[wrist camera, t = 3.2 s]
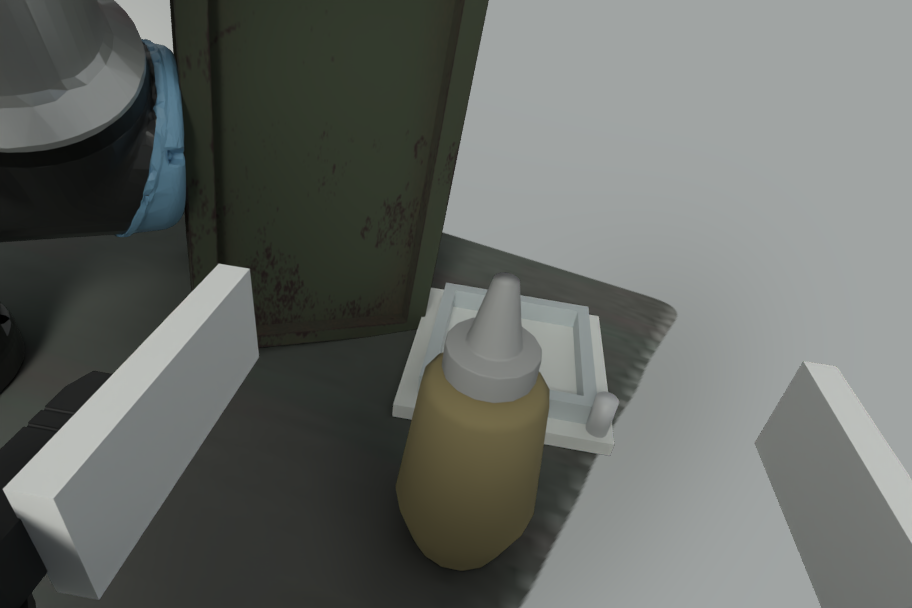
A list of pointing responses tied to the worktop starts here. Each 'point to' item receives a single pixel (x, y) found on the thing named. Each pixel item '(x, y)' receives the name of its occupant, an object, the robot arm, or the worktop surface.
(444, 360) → the squeeze bottle
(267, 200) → the first aid box
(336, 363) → the worktop surface
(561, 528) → the worktop surface
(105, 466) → the robot arm
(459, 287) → the holder plate
